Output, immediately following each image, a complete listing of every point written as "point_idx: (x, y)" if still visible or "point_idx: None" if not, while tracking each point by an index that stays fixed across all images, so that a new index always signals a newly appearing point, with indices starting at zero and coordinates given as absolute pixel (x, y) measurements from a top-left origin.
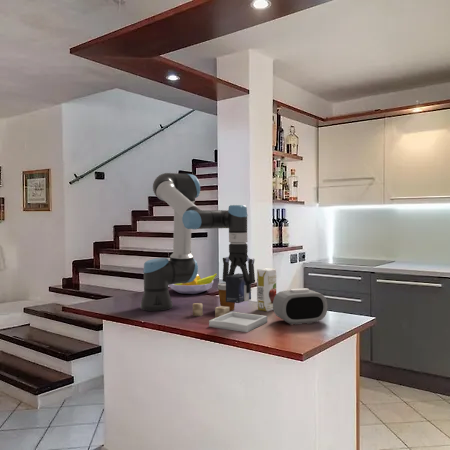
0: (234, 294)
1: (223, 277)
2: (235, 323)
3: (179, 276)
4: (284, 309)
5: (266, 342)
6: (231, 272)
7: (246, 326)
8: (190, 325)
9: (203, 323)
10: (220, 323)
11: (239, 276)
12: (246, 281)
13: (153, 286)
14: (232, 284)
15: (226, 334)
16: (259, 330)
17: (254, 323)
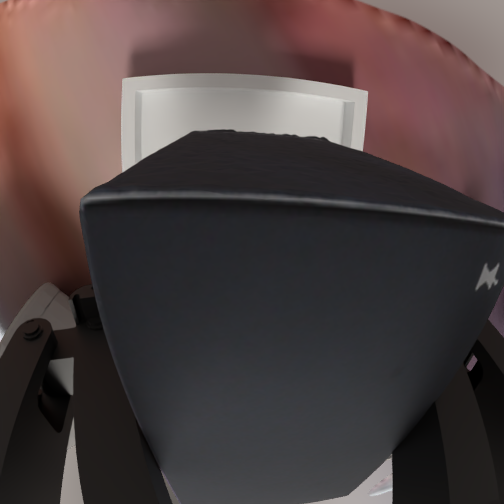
0: (234, 134)
1: (496, 339)
2: (200, 84)
3: None
4: (25, 303)
5: (22, 25)
6: (446, 443)
7: (126, 78)
8: (429, 92)
9: (400, 141)
10: (294, 79)
11: (161, 362)
12: (94, 344)
13: None
14: (291, 154)
15: (207, 6)
16: (97, 144)
17: (124, 166)
